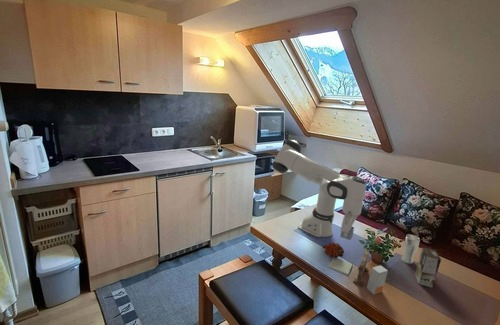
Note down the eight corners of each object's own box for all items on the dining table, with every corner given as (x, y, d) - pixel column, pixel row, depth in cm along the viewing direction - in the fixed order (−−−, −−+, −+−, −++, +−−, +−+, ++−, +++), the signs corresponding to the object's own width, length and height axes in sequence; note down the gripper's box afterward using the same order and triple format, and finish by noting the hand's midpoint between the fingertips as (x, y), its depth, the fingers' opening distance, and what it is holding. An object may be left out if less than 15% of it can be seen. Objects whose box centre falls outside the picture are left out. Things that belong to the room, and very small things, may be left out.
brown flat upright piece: (362, 286, 128) (366, 267, 125) (353, 282, 130) (357, 263, 127) (367, 269, 141) (372, 251, 138) (359, 265, 143) (363, 248, 140)
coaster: (328, 267, 140) (328, 266, 140) (333, 258, 148) (333, 257, 148) (347, 275, 135) (348, 274, 135) (352, 265, 143) (352, 264, 143)
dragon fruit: (344, 263, 144) (322, 259, 151) (347, 251, 150) (326, 248, 157) (340, 252, 140) (319, 249, 148) (344, 240, 146) (323, 238, 153)
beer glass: (415, 265, 148) (422, 241, 144) (402, 263, 149) (408, 239, 145) (411, 258, 154) (417, 235, 150) (398, 255, 156) (404, 233, 151)
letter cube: (350, 240, 134) (352, 231, 132) (340, 236, 136) (342, 227, 135) (352, 236, 138) (354, 227, 136) (342, 232, 140) (344, 224, 139)
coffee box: (432, 288, 131) (441, 260, 127) (418, 284, 133) (426, 256, 129) (428, 276, 139) (436, 249, 135) (414, 273, 141) (421, 246, 137)
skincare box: (373, 295, 123) (378, 273, 120) (366, 288, 127) (371, 267, 124) (382, 292, 126) (388, 270, 122) (375, 285, 129) (380, 264, 126)
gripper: (354, 218, 122) (348, 244, 126) (362, 203, 139) (357, 227, 143) (340, 213, 126) (335, 239, 129) (349, 200, 142) (345, 223, 146)
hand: (347, 233), depth 136 cm, fingers closed on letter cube, 5 cm apart
